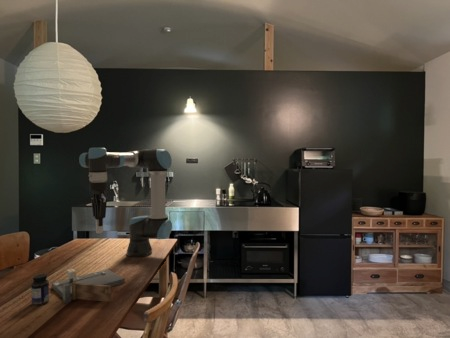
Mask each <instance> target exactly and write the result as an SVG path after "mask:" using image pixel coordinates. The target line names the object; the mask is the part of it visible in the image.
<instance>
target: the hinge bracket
mask: <svg viewBox="0 0 450 338" xmlns="http://www.w3.org/2000/svg"><path fill="white" fill-rule="evenodd" d="M71 299H72V298H71V293H70V284H69V283H65V284H63V298H62V302H63V303H64V304H68V303H71V301H72V300H71Z"/></svg>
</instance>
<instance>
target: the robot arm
mask: <svg viewBox="0 0 450 338" xmlns="http://www.w3.org/2000/svg"><path fill="white" fill-rule="evenodd" d="M78 160H79V161H78V162H79V165H80V166H81V167H82V168H87V169H88V175H87V176H88V177H89V178H88V180H89V191H91V192H92V195H90V196H89V197H90V198H89V199H90V201H91V208H92V216H93V217H94V219H95V233H96V234H102V233H104V218H105V219H106V216H107V215H106V214H107V213H106V212H107V203H108V201H109V200H108V197H105V196H106V195H105V191H106V190H108V169H113V168H114V169H115V168H116V169H118V168H121V167H125V166H126V167H129V168H139V169H140V168H141V169H147V173H149V174H150V215H139V216H135V217H131V218H130V220H129V225H128V226H129V243H128V246H127V250H126V256H127V257H132V258H135V257H136V258H139V257H141V258H142V257H147V256H150V255H152V253H153V249H152V248H153V247H152V245H151V242H150V239H154V240H155V239H156V240H166V239H168V238H169V236H170V234H171V233H172V230H173V222H172V220H170V219H169V216H168V214H167V212H166V174H167V173H168V171H169V169H170V168H171V167H172V161H173V160H172V156H171V153H169V151H168V150H167V149H163V148H155V149H153V148H152V149H150V148H149V149H139V150H130V151H127V152H118V151H114V152H112V151H111V152H109V151H107V148H105V147H90V148H89V149H88V152H83V153H81V154H80V155H79V158H78Z"/></svg>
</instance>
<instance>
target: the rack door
mask: <svg viewBox="0 0 450 338" xmlns="http://www.w3.org/2000/svg"><path fill="white" fill-rule="evenodd" d="M111 292H112V288H111V286H109V285H95V284H81V283H77V282H72V298H71V299H72V300H71V301H75V300H77V299H79V300H88V301H100V302H101V301H102V302H110V301H112V293H111Z"/></svg>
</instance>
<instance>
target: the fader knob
mask: <svg viewBox="0 0 450 338" xmlns="http://www.w3.org/2000/svg"><path fill="white" fill-rule="evenodd" d="M66 277H67V279H70V282H73V278H76V277H77V271H76V270H75V269H74V268H69V269H66Z"/></svg>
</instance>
